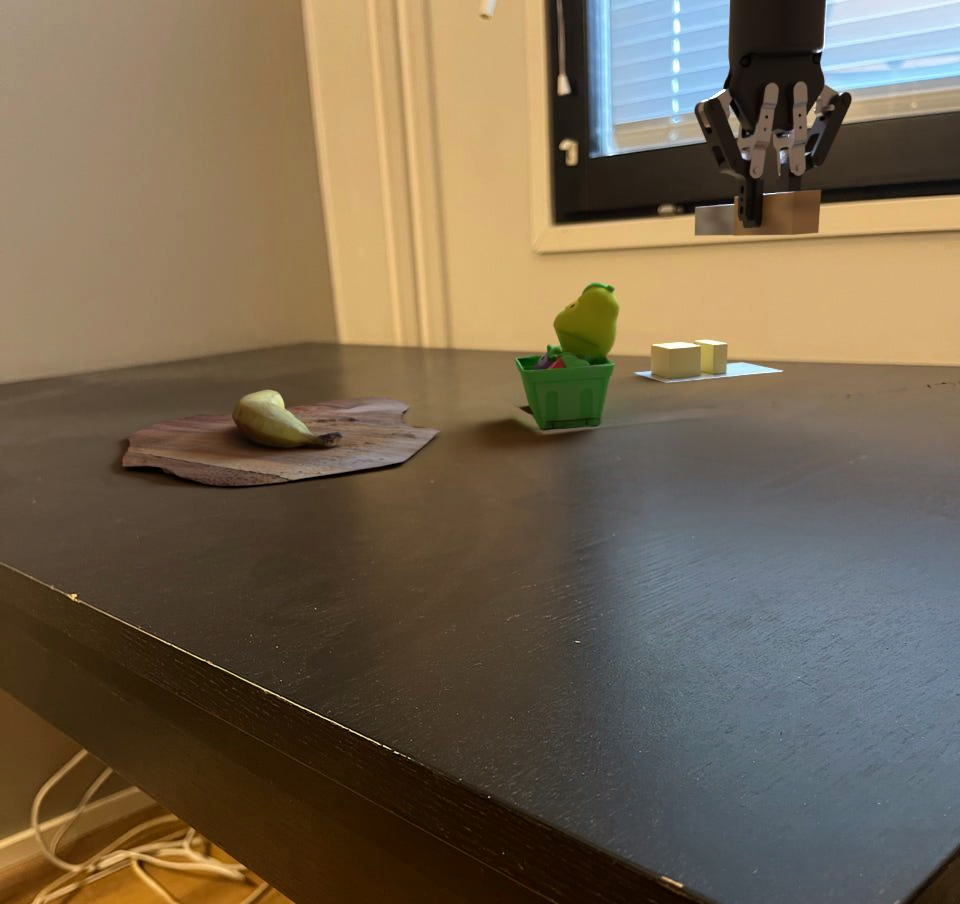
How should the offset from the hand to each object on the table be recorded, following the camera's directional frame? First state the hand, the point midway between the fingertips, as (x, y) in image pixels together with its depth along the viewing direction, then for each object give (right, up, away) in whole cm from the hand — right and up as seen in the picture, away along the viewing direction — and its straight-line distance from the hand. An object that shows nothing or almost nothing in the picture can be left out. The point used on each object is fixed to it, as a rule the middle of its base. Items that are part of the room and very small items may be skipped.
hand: (768, 225), depth 85 cm
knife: (-1, +1, +4) cm, 4 cm away
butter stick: (-4, -8, +19) cm, 21 cm away
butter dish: (-1, -8, +20) cm, 22 cm away
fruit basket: (-17, -16, +3) cm, 24 cm away
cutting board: (-42, -18, +2) cm, 46 cm away
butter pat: (0, -7, +20) cm, 21 cm away
